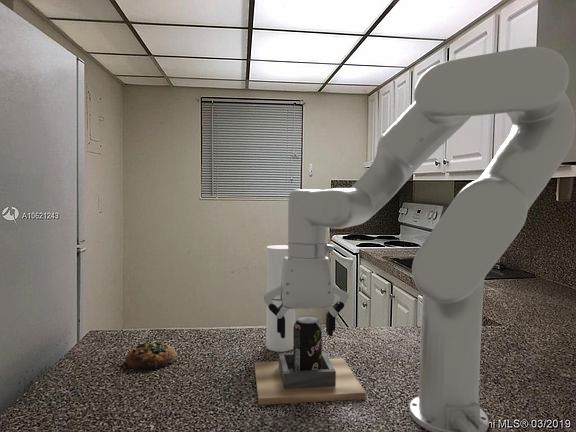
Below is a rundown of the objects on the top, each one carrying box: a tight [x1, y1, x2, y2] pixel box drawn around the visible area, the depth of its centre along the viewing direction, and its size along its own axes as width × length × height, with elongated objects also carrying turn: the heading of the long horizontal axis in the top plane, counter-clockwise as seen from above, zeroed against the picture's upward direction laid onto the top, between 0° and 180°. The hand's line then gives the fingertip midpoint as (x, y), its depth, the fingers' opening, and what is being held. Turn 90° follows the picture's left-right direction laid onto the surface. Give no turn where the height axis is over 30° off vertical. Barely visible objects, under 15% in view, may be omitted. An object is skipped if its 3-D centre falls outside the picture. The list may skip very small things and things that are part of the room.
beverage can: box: [292, 314, 323, 371], centre depth 83 cm, size 6×6×12 cm
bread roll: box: [124, 342, 178, 372], centre depth 94 cm, size 11×11×5 cm
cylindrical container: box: [265, 244, 296, 353], centre depth 103 cm, size 7×7×25 cm
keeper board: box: [254, 350, 366, 406], centre depth 84 cm, size 16×20×4 cm
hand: (306, 335), depth 83 cm, fingers open, 9 cm apart
